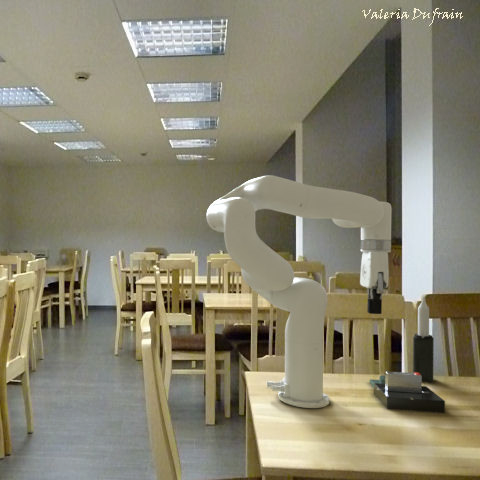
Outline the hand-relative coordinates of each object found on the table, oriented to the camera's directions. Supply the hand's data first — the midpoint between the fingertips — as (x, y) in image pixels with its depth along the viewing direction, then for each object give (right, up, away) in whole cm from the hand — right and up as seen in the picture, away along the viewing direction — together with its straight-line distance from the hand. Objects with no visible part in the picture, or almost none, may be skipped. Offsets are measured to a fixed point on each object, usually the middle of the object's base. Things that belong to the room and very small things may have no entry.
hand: (374, 313), depth 121 cm
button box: (+6, -22, +3) cm, 23 cm away
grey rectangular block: (+4, -19, -8) cm, 21 cm away
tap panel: (+5, -22, -8) cm, 24 cm away
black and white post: (+20, -22, +12) cm, 32 cm away
